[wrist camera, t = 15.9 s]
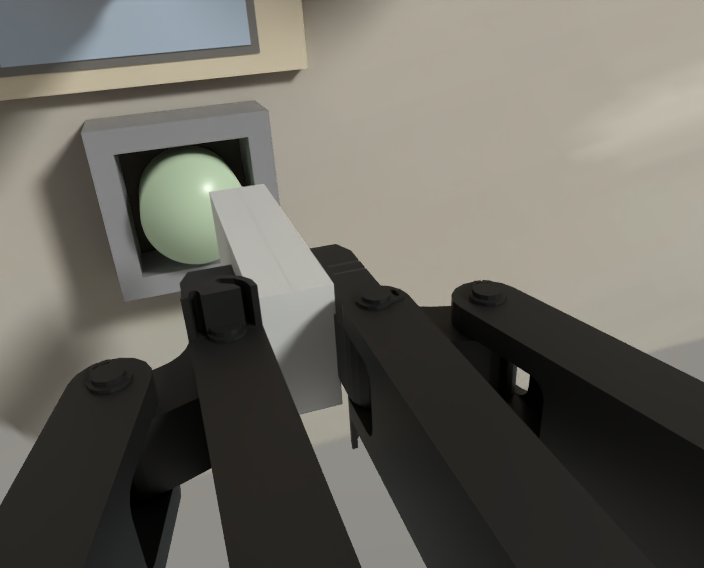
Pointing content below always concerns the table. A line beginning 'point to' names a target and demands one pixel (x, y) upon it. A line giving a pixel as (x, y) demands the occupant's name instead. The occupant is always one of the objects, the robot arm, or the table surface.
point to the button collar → (155, 133)
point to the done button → (183, 202)
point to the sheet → (142, 43)
